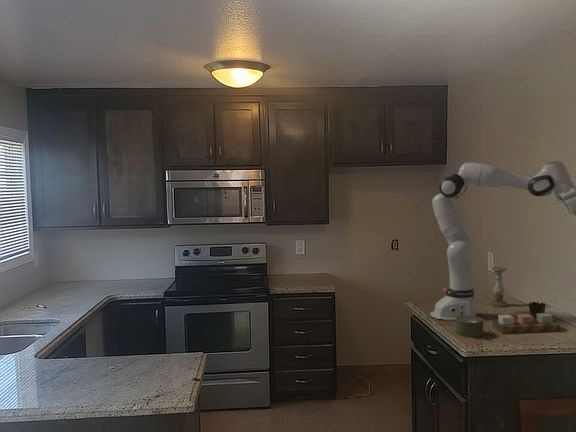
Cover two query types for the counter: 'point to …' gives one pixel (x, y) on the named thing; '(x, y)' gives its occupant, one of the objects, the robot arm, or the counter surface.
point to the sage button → (544, 318)
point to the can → (469, 326)
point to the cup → (536, 308)
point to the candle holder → (498, 288)
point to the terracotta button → (525, 318)
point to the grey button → (505, 319)
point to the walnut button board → (526, 327)
